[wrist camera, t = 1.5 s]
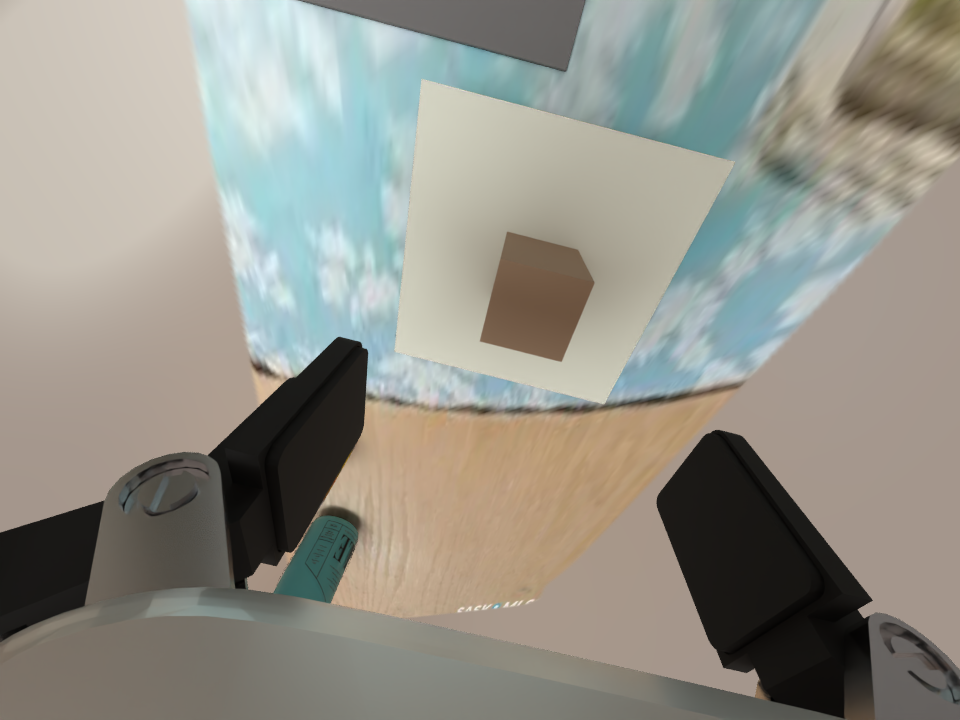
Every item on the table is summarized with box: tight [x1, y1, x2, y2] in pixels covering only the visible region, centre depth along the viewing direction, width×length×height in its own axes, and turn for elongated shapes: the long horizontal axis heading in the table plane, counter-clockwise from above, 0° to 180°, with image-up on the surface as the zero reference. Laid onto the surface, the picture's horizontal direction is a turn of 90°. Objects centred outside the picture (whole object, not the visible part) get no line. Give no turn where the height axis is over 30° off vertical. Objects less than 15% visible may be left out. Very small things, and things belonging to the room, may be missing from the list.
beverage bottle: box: [274, 516, 358, 603], centre depth 37 cm, size 6×7×20 cm
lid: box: [395, 79, 735, 404], centre depth 18 cm, size 15×15×6 cm
